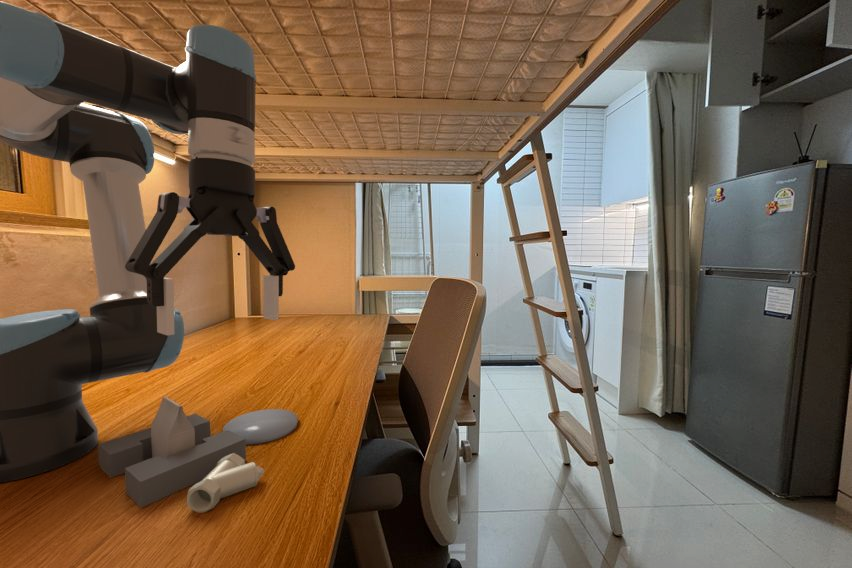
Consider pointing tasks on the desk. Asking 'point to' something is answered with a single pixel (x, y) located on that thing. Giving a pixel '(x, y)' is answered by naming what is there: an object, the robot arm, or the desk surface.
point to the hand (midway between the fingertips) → (224, 325)
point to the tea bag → (171, 430)
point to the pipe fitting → (223, 482)
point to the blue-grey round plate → (263, 425)
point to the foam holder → (166, 461)
